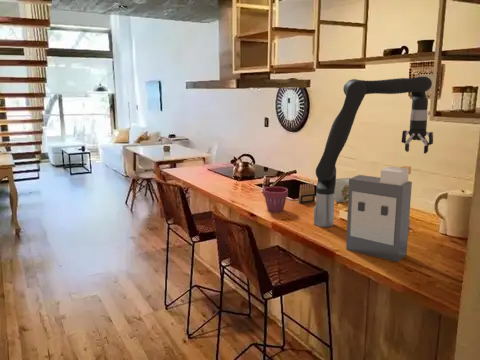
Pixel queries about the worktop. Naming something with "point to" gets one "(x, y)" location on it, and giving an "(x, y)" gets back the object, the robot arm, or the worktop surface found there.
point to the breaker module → (395, 175)
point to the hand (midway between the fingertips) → (416, 152)
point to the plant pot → (275, 198)
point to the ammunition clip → (307, 194)
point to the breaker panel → (378, 217)
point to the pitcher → (341, 190)
